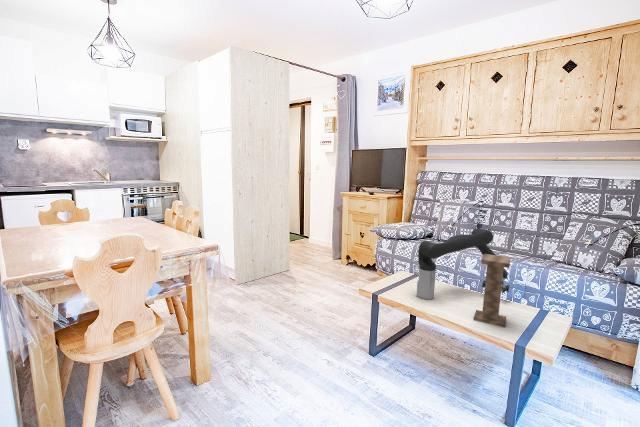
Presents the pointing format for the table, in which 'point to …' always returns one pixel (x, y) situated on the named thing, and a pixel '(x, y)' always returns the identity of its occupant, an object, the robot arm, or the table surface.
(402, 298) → the table surface
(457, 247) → the robot arm
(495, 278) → the tall stand
